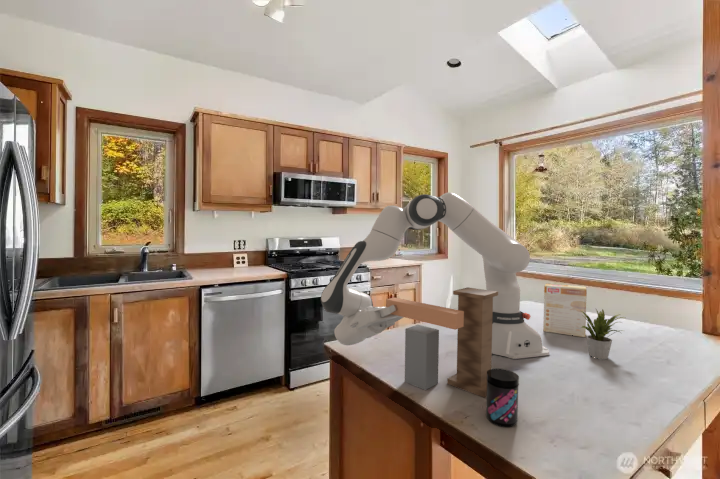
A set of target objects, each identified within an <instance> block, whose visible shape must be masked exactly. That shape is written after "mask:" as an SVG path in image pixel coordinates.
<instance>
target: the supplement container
mask: <svg viewBox="0 0 720 479" xmlns="http://www.w3.org/2000/svg"><path fill="white" fill-rule="evenodd" d="M519 382H520V377H519V375H518V374H517V373H516V372H514V371H512V370H509V369H505V368H491V369H490V370H488V371H487V393H486V402H485V405H486V406H485V416H486V419H487V420H488V421H489V422H490V423H492V424H493V425H496V426H498V427H503V428H511V427H515V425H516V424H518V420H519V419H518V418H519V417H518V415H519V388H520V387H519V386H520V383H519Z"/></svg>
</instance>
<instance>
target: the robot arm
mask: <svg viewBox="0 0 720 479" xmlns="http://www.w3.org/2000/svg"><path fill="white" fill-rule="evenodd" d="M437 222H440V223H442V224H443V225H445V226H447V228H448V229H449V230H451V231H452V232H453V233H454V234H455V235H456V236H457V237H458V238H459V239H461V240H462V241H463V242H464V243H465V244H466V245H467V246H469V247H470V248H471V249H473V250H474V251H475V252H477V253H478V254H480V255H481V257H482V261H483V271H484V278H485V286H486V287H485V290H490V291H497V292H498V296H495V297H493V316H492V355H497V356H503V357H506V358H509V359H513V360H517V359H519V360H520V359H527V358H535V357H544V356H545V357H546V356H550V350H549V349H548V348H547V347H545V346H544V345H543V340H542V337H541V334H540V333H539V332H538V331H536V330H535V329H534V328H533V327H531V325H529V324H528V323H527V322H526V321H525V319H526V320H527V321H528V320H530V319H531V318H532V317H531V314H530V313H527V312H523V311H521V308H520V306H521V301H520V300H521V289H520V285H519V282H518V279H517V273H520V272H522V271H524V270H526V268H527V267H528V266H529V264H530V261H531V257H530V252H529V250H528V249H527V247H525V245H524V244H522V243H520V242H519V241H518V240H516V239H515V238H513V237H512V236H511V235H509V233H507V232H505V231H504V230H502V228H500V227H498V226H497V225H496V224H494V223H492V222H491V221H490V220H489V219H488V218H487V217H485V215H483V213H482V212H480V211H478V210H477V209H476V208H475V207H474V206H473V205H472V204H470V203H469V202H468V201H467V200H465V199H464V198H462V197H461V196H459V195H457V194H456V193H453V192H445V193H443V194H442V195H441V194H440V196H435V195H430V194H427V193H426V194H425V193H424V194H420V195H417V196H415V197H414V198H412V199H411V200H410V201H409V202H408V203H407V205H405V206H404V207H400V206H397V205H387V206H385V207H383V209H382V210H381V212H380V213H379V215H378V216H377V218H376V219H375V221H374V224H373V226H372V228H371V230H370V232H369V234H368V235H367V236H366V238H364V239H363V240H359V241H358V242H356V243H355V244H354V245H353V247H352V248H351V250H350V251H349V252H348V254H347V256H346V257H345V259H344V260H343V262H341V263H342V264H340V266H339V268H338V270H337V271H336V273H335V274H334V275H333V277H332V278H331V280H330V281H328V282H329V283H328V284H326V285H325V287H324V289H323V290H322V292H321V295H320V303H321V304H322V307H323V310H325V311H326V312H327V313H331V314H335V315H340V316H342V317H343V318H342V319H341V321H340V323H339V324H337V326H336V327H335V328H334V337H335V339H336V340H337V341H338V342H339V343H340V344H341V345H343V346H347V347H348V346H353V345H356V344H359V343H361V342H364V341H365V340H366V339H370V338H372V337H374V336H377V335H378V334H381V333H382V332H383V331H385V330H386V329H388V328H391V327H394V325H396V322H398V321H400V320H402V319H403V318H404V317H401V316H397V315H393V314H391V313H392V312H395V311H397V310H398V308H397V305H392V306H390V307H387V308H386V306H374V302H373V299H372V296H370V295H369V294H368V293H365V292H363V291H361V290H357V289H354V288H352V287H350V286H347V285H348V283H349V282H350V281H351V279H352V278H353V276H354V274H355V272H356V271H357V269H358V267H360V266H361V265H362V264H364V263H366V262H372V261H373V262H375V261H377V262H378V261H379V262H380V261H385V260H388V259H390V258H392V257H394V255H395V254H396V252H398V248H399V246H400V244H401V242H402V239H403V237H404V235H405V233H406V232H407V230H415V231H417V230H418V231H420V230H424V229H427V228H430V227H431V226H432V225H434V224H435V223H437Z"/></svg>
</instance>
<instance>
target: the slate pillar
mask: <svg viewBox="0 0 720 479" xmlns="http://www.w3.org/2000/svg"><path fill="white" fill-rule="evenodd" d="M404 331H405V335H404V339H405V340H404V383H407V384H409V385H411V386H414V387H416V388H419V389H422V390H425V391H427V390H429V389H430V388H432V387H433V386H435V385H437V384H439V350H440V349H439V348H440V346H439V345H440V341H439V340H440V329H437V328H435V327H430V326H426V325H421V324H415V325H413V326H410V327H407V328H405V329H404Z"/></svg>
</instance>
